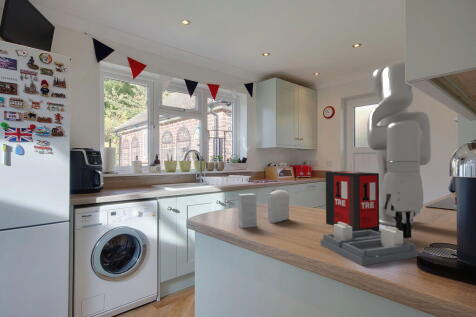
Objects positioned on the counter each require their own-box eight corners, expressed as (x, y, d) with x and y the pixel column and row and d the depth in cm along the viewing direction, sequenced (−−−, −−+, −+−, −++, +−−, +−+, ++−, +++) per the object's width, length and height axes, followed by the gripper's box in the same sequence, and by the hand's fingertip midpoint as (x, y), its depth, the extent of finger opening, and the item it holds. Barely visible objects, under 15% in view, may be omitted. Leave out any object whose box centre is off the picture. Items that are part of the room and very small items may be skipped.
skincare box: (252, 224, 101) (252, 193, 101) (257, 226, 97) (256, 194, 97) (237, 225, 100) (237, 193, 100) (241, 228, 96) (241, 195, 96)
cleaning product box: (379, 232, 89) (378, 173, 90) (358, 234, 86) (358, 173, 87) (344, 221, 105) (344, 171, 105) (326, 223, 102) (325, 171, 102)
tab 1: (342, 239, 77) (342, 221, 77) (352, 243, 73) (352, 224, 73) (333, 240, 76) (333, 221, 76) (343, 244, 72) (343, 225, 72)
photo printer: (275, 223, 102) (274, 191, 102) (266, 221, 105) (266, 190, 105) (290, 219, 109) (290, 189, 109) (282, 217, 112) (282, 188, 112)
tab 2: (389, 244, 72) (389, 225, 72) (403, 248, 68) (403, 228, 68) (381, 245, 71) (381, 226, 71) (394, 250, 67) (394, 229, 67)
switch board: (370, 238, 82) (370, 228, 82) (419, 256, 67) (419, 244, 67) (320, 244, 77) (320, 234, 77) (361, 265, 61) (361, 252, 61)
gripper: (410, 167, 76) (411, 230, 76) (369, 168, 72) (370, 235, 72) (437, 168, 69) (438, 238, 69) (393, 169, 65) (394, 244, 65)
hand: (403, 236), depth 71 cm, fingers closed
